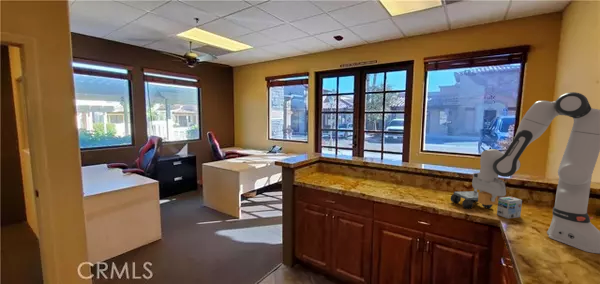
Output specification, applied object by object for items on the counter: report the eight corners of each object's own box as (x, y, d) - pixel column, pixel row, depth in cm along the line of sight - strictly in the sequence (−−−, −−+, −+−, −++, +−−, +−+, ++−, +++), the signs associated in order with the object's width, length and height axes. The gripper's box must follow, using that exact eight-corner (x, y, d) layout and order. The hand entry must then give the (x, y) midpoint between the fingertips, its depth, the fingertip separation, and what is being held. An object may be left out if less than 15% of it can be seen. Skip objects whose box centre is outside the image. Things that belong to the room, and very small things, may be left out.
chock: (497, 204, 152) (497, 194, 151) (484, 204, 151) (485, 194, 151) (490, 201, 157) (490, 191, 156) (477, 202, 156) (478, 192, 155)
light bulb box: (507, 218, 153) (509, 201, 152) (496, 214, 159) (497, 197, 158) (520, 217, 156) (522, 199, 155) (509, 213, 162) (511, 196, 161)
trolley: (492, 208, 170) (495, 177, 168) (464, 209, 167) (467, 178, 165) (476, 201, 183) (479, 173, 181) (450, 202, 180) (452, 173, 178)
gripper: (509, 180, 143) (508, 205, 144) (479, 172, 163) (478, 194, 164) (499, 180, 142) (498, 205, 143) (470, 173, 162) (469, 195, 163)
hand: (487, 199), depth 154 cm, fingers closed on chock, 5 cm apart
